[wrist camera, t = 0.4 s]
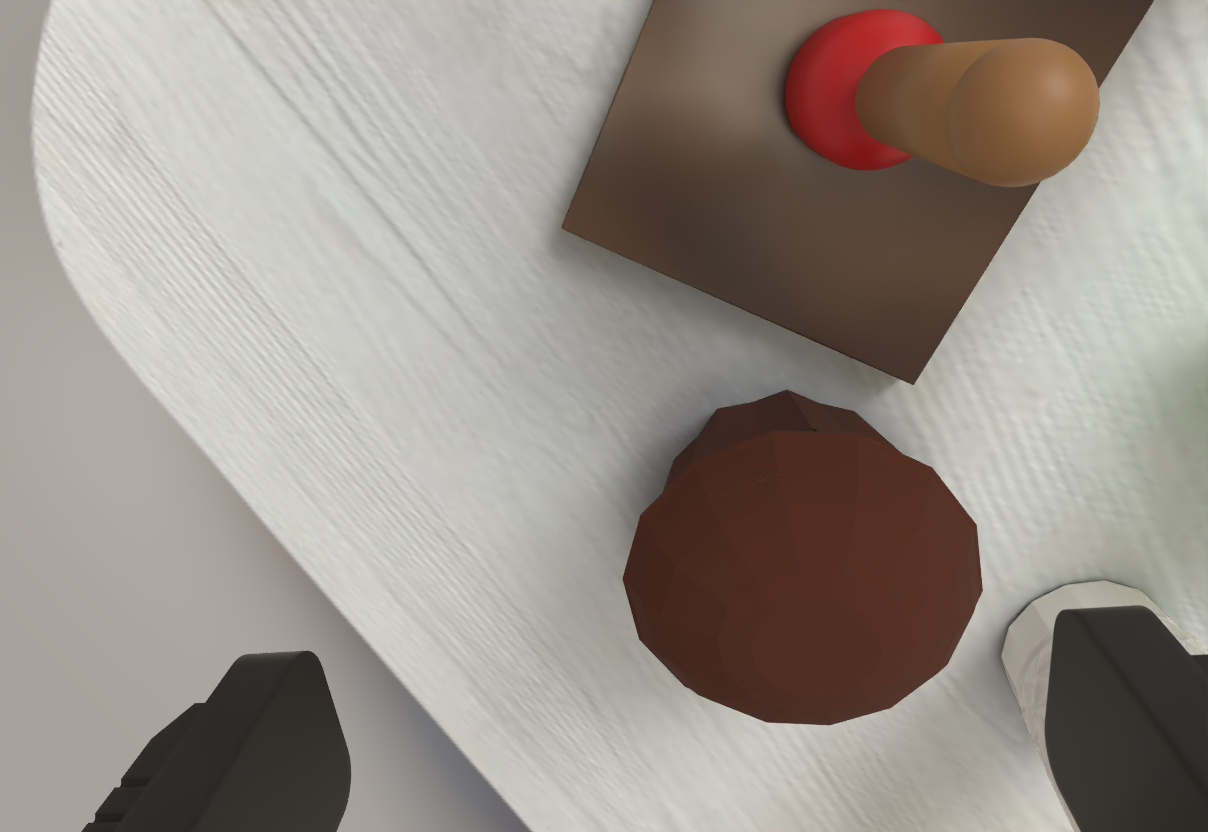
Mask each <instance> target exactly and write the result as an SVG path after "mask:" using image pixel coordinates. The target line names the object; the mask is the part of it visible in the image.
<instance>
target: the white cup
mask: <svg viewBox="0 0 1208 832" xmlns="http://www.w3.org/2000/svg"><path fill="white" fill-rule="evenodd" d="M1133 605H1142V606H1145V607H1147V608H1149V609H1150V610H1151V611H1152V612H1153V613H1154V614H1155V615H1156V616H1157V617H1158V618H1159V619H1160V620H1161V621H1162V623H1163V624H1164V625H1165V626H1166V627H1167V628H1168V629H1169V631H1170V632H1171V633H1172V634H1173V635H1174V636H1175V638H1176V639H1177V640H1178V641H1179V642H1180V643H1181V645H1182V646H1183V647H1184V648H1185V649H1186V650H1187V651H1188V653H1189V654H1190V655H1202V654H1208V650H1207V649H1206V648H1205V647H1204V646H1203V645H1202V644H1201V643H1200V642H1199V641H1198V640H1197V639H1196V638H1195V637H1194V636H1192V635H1190V634H1188V633H1186V632H1185V631H1184V630H1182V629H1181V628H1180V627H1179V626H1178V625H1177V624H1176V623H1175V622H1174V621H1173V620H1172V619H1171V618H1170V617H1169V616H1168V615H1167V614H1166V613H1165V612H1164V611H1163V610H1161V609H1160V608H1159V607H1158V606H1157V605H1156V604H1155V603H1154V602H1153V601H1152V600H1151V599H1150V598H1148V597H1147V596H1146V595H1145V594H1144V593H1143V592H1142V591H1141V590H1138V589H1135V588H1131V587H1127V586H1124V585H1120V584H1116V583H1113V582H1109V581H1105V580H1104V581H1094V582H1085V583H1076V584H1068V585H1064V586H1062V587H1060V588H1058V589H1056V590H1054V591H1052V592H1050V593H1048V594H1046V595H1044V596H1042V597H1040V598H1038V599H1036V600H1034V601H1032V602H1031V603H1030V604H1029V605H1028V606H1027V607H1026V609H1025V610H1024V611H1023V612H1022V613H1021V614H1020V615H1019V616H1018V617H1017V619H1016V620H1015V621H1014V622H1013V623H1012V624H1011V625H1010V626H1009V628H1008V632H1007V636H1006V639H1005V643H1004V647H1003V651H1002V654H1001V658H1002V662H1003V665H1004V668H1005V671H1006V674H1007V677H1008V680H1009V683H1010V686H1011V688H1012V690H1013V692H1014V694H1015V696H1016V698H1017V700H1018V702H1019V704H1020V706H1021V709H1022V716H1023V719H1024V721H1025V724H1026V726H1027V728H1028V730H1029V732H1030V734H1031V736H1032V739H1033V742H1034V744H1035V747H1036V749H1037V751H1038V753H1039V755H1040V758H1041V760H1042V762H1043V764H1044V766H1045V769H1046V772H1047V775H1048V777H1049V779H1050V781H1051V784H1052V786H1053V788H1054V790H1055V792H1056V794H1057V796H1058V798H1059V800H1060V803H1061V805H1062V807H1063V809H1064V811H1065V813H1066V815H1067V817H1068V820H1069V822H1070V824H1071V826H1072V828H1073V830H1074V832H1081V831H1080V829H1079V827H1078V825H1077V824H1076V822H1075V820H1074V818H1073V816H1072V814H1071V812H1070V810H1069V808H1068V806H1067V805H1066V803H1065V801H1064V799H1063V797H1062V795H1061V793H1060V791H1059V789H1058V787H1057V785H1056V782H1055V780H1054V777H1053V774H1052V771H1051V767H1050V764H1049V760H1048V755H1047V750H1046V744H1045V730H1044V727H1045V714H1046V704H1047V693H1048V683H1049V673H1050V662H1051V652H1052V642H1053V631H1054V624H1055V620H1056V617H1057V615H1058V614H1059V613H1060V611H1062V610H1064V609H1081V608H1098V607H1115V606H1133Z"/></svg>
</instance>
